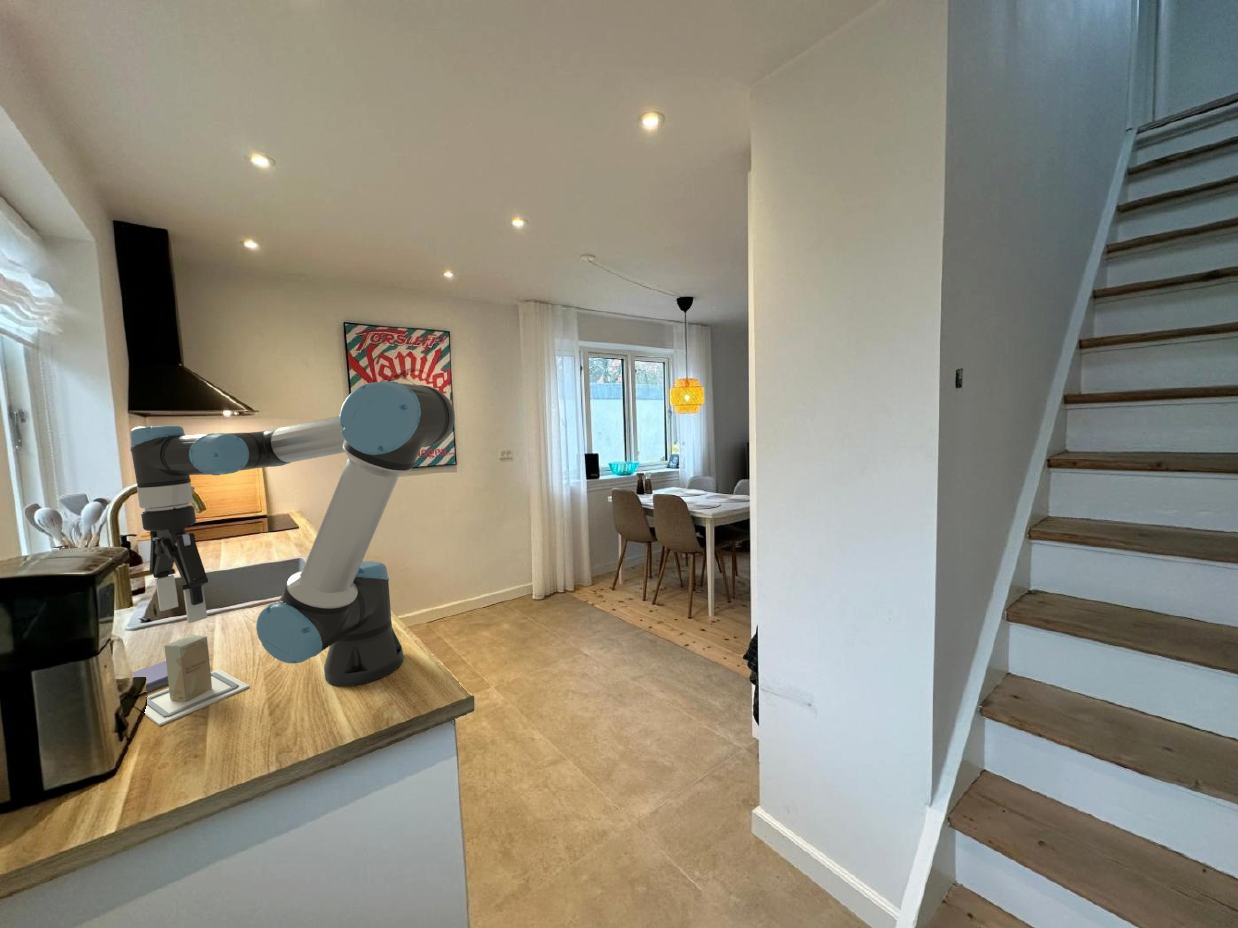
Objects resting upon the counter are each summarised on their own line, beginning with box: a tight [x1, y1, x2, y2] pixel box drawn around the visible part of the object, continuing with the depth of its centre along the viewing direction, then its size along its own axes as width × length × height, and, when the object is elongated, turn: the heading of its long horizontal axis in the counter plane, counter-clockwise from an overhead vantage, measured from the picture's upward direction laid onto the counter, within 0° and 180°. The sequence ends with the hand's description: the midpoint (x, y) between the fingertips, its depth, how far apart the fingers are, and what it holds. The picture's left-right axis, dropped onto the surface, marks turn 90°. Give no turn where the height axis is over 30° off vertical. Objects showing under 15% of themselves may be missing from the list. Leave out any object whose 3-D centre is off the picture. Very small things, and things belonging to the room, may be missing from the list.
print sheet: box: [144, 668, 250, 727], centre depth 97 cm, size 14×14×1 cm
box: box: [164, 634, 212, 702], centre depth 96 cm, size 5×4×11 cm
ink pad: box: [131, 660, 169, 693], centre depth 104 cm, size 10×10×2 cm
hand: (183, 614), depth 95 cm, fingers open, 13 cm apart
